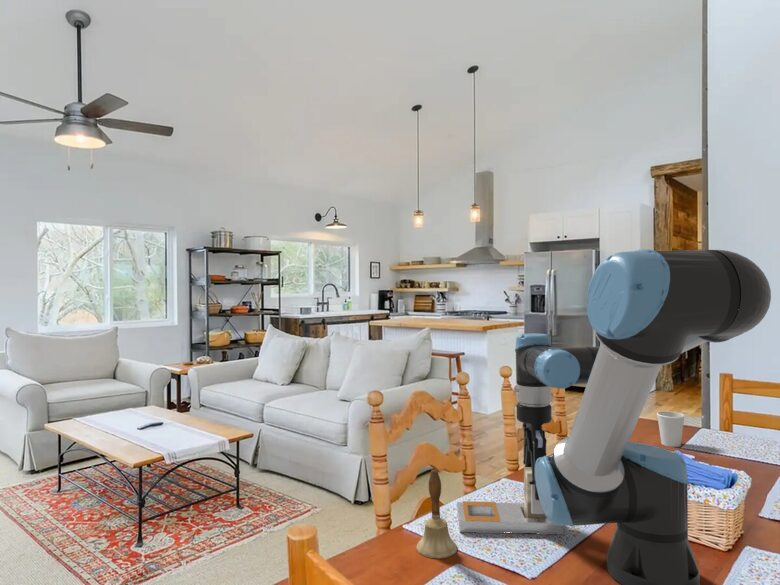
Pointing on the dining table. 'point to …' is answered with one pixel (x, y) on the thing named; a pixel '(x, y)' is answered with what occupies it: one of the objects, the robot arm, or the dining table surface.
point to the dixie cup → (670, 428)
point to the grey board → (501, 519)
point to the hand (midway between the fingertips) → (534, 506)
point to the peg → (529, 495)
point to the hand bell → (436, 527)
